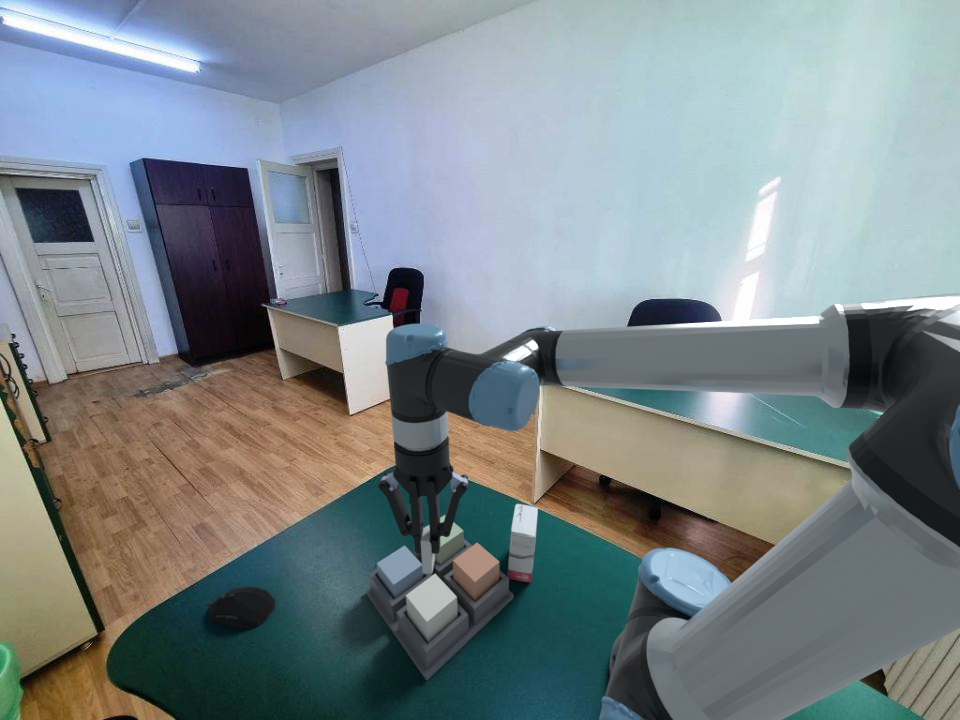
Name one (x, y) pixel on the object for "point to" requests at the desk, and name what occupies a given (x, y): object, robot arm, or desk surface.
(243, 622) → the gaming mouse
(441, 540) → the key sage
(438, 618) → the key ivory
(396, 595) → the key slate
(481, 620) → the keypad
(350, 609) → the desk surface
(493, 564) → the key terracotta
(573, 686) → the desk surface
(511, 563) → the ink box
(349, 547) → the desk surface
